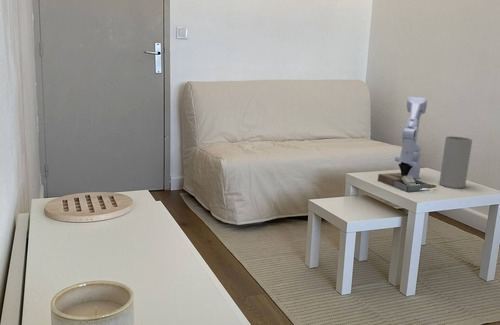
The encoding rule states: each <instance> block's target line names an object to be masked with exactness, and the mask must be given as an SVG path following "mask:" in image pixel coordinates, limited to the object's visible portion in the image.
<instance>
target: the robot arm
mask: <svg viewBox="0 0 500 325" xmlns="http://www.w3.org/2000/svg"><path fill="white" fill-rule="evenodd" d="M427 105H428V98H427V97H419V96H409V95H408V97H407V101H406V110H407V112H408V113H409V117H408V118H407V119H406V121H405V125H404V128H403V130H402V134H401V137H402V138H401V142H402V145H401V150H400V157H398V156H397V157H394V162H398V168H399V169H400V173H401V176H402V177H403V176H409V175H411V176H412V177H413V178H415V179H416V180H418V179H421V177H420V172H421V164H420V157H421V147H420V146H419V145H418V144H417V140H418V132H419V127H420V126H419V125H420V119H421V117H422V114H423V115H424V114H425V113H426V111H427Z"/></svg>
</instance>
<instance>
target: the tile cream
mask: <svg viewBox="0 0 500 325" xmlns="http://www.w3.org/2000/svg"><path fill="white" fill-rule="evenodd" d="M401 179H402V180H403V182H404V183H405V184H406V185H407V183H415V180H414V179H413V178H412V176H411V175H409V176H403V177H402V178H401Z"/></svg>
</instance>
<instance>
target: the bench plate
mask: <svg viewBox="0 0 500 325" xmlns="http://www.w3.org/2000/svg"><path fill="white" fill-rule="evenodd" d="M377 175H378V177H377V181H378V182H380V183H383V184H386V185H387V186H391V187H393V188H395V187H394V181H397V182H399V183H402V184H405V183H404V182H403V180H402V179H401V178H402V176H401V172H391V173H389V172H388V173H378V174H377ZM412 178H413V177H412ZM413 179H414V180H415V178H413Z"/></svg>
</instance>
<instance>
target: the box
mask: <svg viewBox="0 0 500 325" xmlns="http://www.w3.org/2000/svg"><path fill="white" fill-rule="evenodd" d="M415 183H417V184H420V185H412V186H407V185H405V184H402V183H399V182H397V181H394V187H393V188H396V189H397V190H398V189H399V190H402V191H403V192H406V193H411V192H412V193H414V192H420V191H419V190H420V189H422V188H430V187H431V184H430V183H427V182H424V181H421V180H418V179H415ZM430 189H431V188H430Z"/></svg>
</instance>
